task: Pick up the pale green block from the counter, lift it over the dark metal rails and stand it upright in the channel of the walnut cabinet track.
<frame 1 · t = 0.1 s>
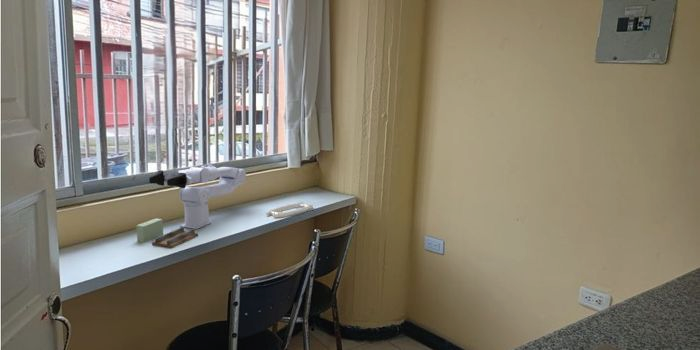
hand: (159, 181, 174), 22 cm above the counter, tool horizontal, fingers open, 7 cm apart
white rectangular tray: (290, 213, 220), on the counter
pale green block: (150, 238, 180), on the counter
cabinet track: (175, 240, 178), on the counter
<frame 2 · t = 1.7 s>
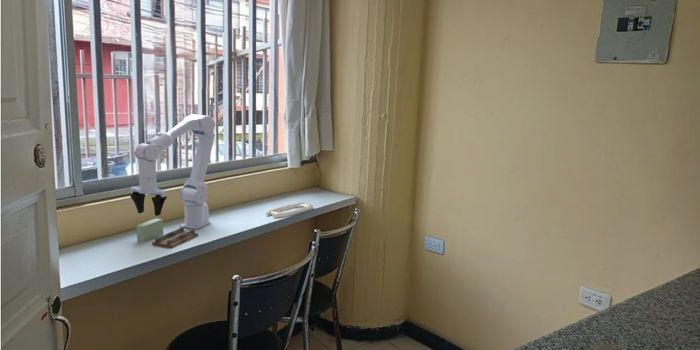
hand: (149, 213, 178), 9 cm above the counter, tool pointing down, fingers open, 7 cm apart
nothing on the counter moved.
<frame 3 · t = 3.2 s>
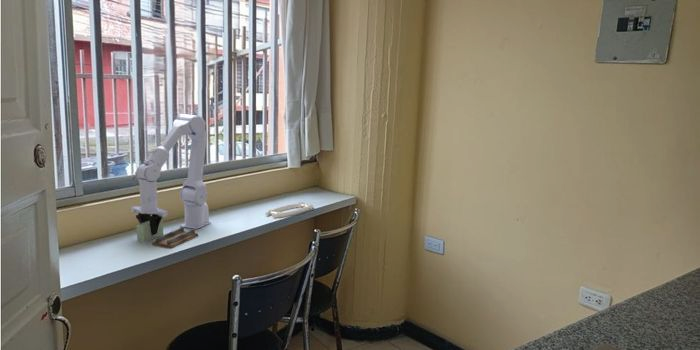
hand: (150, 233, 179), 2 cm above the counter, tool pointing down, fingers closed on pale green block, 3 cm apart
pale green block: (150, 237, 179), on the counter, touching gripper
everything else where it was.
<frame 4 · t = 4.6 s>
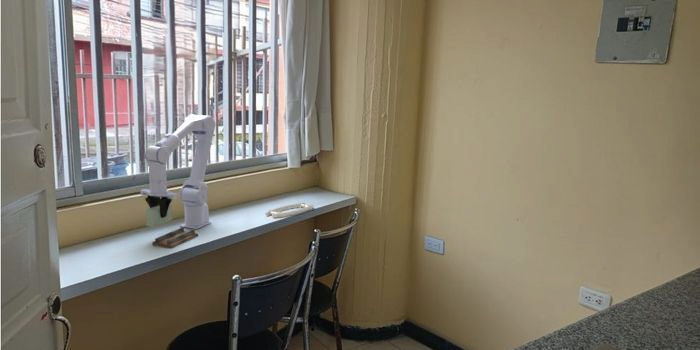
hand: (159, 216, 177), 8 cm above the counter, tool pointing down, fingers closed on pale green block, 3 cm apart
pale green block: (159, 222, 178), point 6 cm above the counter, touching gripper
everything else where it was.
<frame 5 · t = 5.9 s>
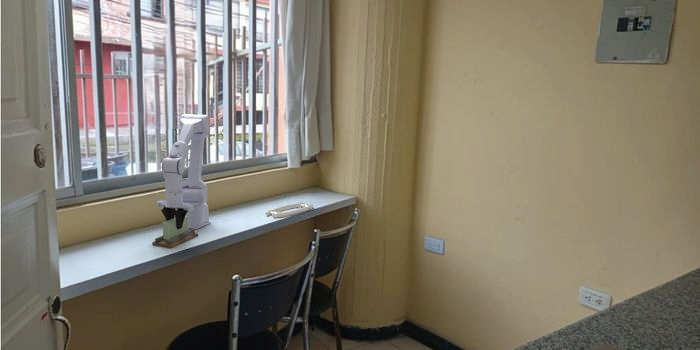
hand: (175, 227, 177), 5 cm above the counter, tool pointing down, fingers closed on pale green block, 3 cm apart
pale green block: (176, 235, 177), point 2 cm above the counter, touching gripper
everything else where it was.
when the fingers open (3 cm above the counter, at t = 6.6 s): pale green block stays where it is, resting on cabinet track.
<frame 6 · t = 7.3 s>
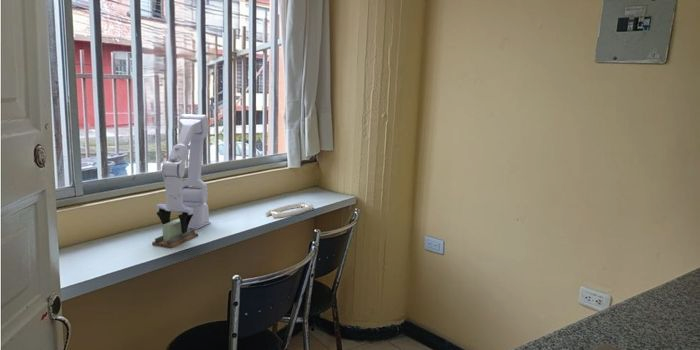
hand: (175, 231, 177), 3 cm above the counter, tool pointing down, fingers open, 7 cm apart
pale green block: (176, 237, 178), point 1 cm above the counter, touching cabinet track
everything else where it was.
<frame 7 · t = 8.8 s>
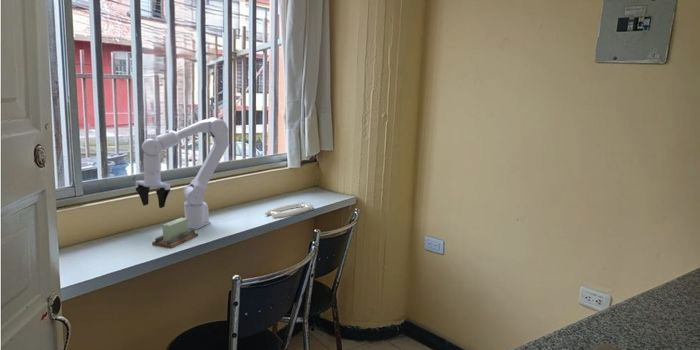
hand: (153, 206, 187), 9 cm above the counter, tool pointing down, fingers open, 7 cm apart
nothing on the counter moved.
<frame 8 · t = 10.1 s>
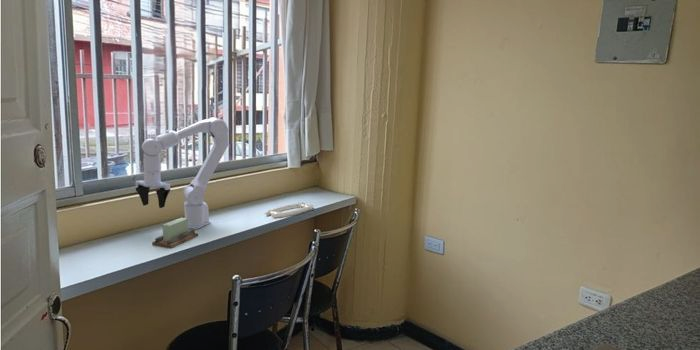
hand: (153, 206, 187), 9 cm above the counter, tool pointing down, fingers open, 7 cm apart
nothing on the counter moved.
at the end: pale green block 0.1 cm off-centre on the cabinet track, point 1.0 cm above the cabinet track's base; pale green block tilted 0°; the gripper is holding nothing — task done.
